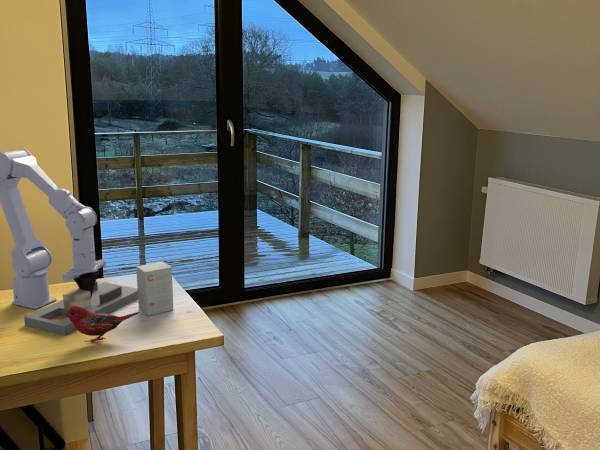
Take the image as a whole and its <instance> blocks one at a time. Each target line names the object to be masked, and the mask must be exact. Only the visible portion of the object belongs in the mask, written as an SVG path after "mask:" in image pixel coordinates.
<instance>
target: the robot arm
mask: <svg viewBox="0 0 600 450" xmlns="http://www.w3.org/2000/svg"><path fill="white" fill-rule="evenodd" d="M22 178H24V179H27V180H29V181H30V183H32V184H33V185H34V186H35V187H37V188H38V189H39V190H40V191H41V192H42V193H44V194H45V195H46V196H48V204H49V205H50V206H51V207H52V208H53V209H54V210H55V211H56V213H59V215H60V216H61V217H62V218H63V219H65V221H64V223H65V226H66V228H67V229H68V231H69V236H70V237H71V245H72V246H71V247H72V258H73V259H72V261H73V267H71V268H70V269H68V270H67V271H65V273H62V281H63V282H68V283H69V282H71V281H72V280H73V281H74V282H75V283H76V285H77V287H78V288H79V289H81V290H86V291H90V293H91V298H92V293H93V288H94V285H95V282H97V279H98V278H99V275H100V274H99V269H101V268H103V269H104V268H107V261H106V260H105V259H99V260H96V252H95V249H96V248H95V237H94V226H95V225H96V224H97V222H98V216H97V214H96V212H95V210H94V209H93V208H92V207H90V206H85V205H84V204H82V203H81V202H79V201H78V200H77V198H75V197H74V196H73V195H72V192H71V191H70V190H69V189H66V188H59V187H58V185H56V184H55V183H54V182H53V181H52V179H51V178H50V177H49V176H48V175H47V174H46V173H45V171H44V170H43V169H42V167H40V165H38V163H37V158H36V157H35V156H34V155H33V154H31V152H30V151H29V150H27V149H25V148H19V149H16V150H9V151H3V152H0V206H1V208H2V210H3V213H4V216H5V219H6V222H7V225H8V227H9V230H10V233H11V235H12V238H13V241H14V246H13V248H12V249H11V252H10V257H11V261H12V262H11V265H12V270H13V271H14V273H15V274H14V276H13V278H12V283H11V284H12V292H13V301H11V304H13V305H15V306H16V305H17V306H21V307H24V308H30V309H35V310H36V309H39V308H41V307H44V306H46V305H49V304H51V303H53V302H56V301H57V300H58V298H57V297H52V296H50V287H49V276H48V271H49V267H50V266H51V265H52V262H53V256H52V253H51V252H50V250H48V248H47V246H46V244H45V242H44V241H42V240H40V239H38V238H37V237H36V234H35V232H34V229H33V227H32V224H31V220H30V218H29V215H28V212H27V210H26V208H25V204H24V201H23V199H22V196H21V193H20V191H19V188H18V184H19V183H20V181H21V179H22Z"/></svg>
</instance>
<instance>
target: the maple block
mask: <svg viewBox="0 0 600 450" xmlns="http://www.w3.org/2000/svg"><path fill="white" fill-rule="evenodd" d="M62 300H63V303H64V308H66V309H70V308H71V307H73V306H78V307H82V308H86V307H88V306H90V305H91V293H90V291H86V290H81V289H77V288H74V289H72V290H69V291H67V292H65V293H62Z"/></svg>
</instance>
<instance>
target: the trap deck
mask: <svg viewBox="0 0 600 450" xmlns="http://www.w3.org/2000/svg"><path fill="white" fill-rule="evenodd" d="M77 289H79V287H78V288H77ZM136 300H138V287H137V288H136V287H131V286H127V285H126V286H125V285H121V284H118V283H117V284H116V283H112V282H106V281H104V282H101V283H99V284H98V281H96V282H95V285H94V288H93V293H92V298H91V305H90V306H88V307H86V308H84V309H86V310H88V311H89V312H94V313H104V314H110V313H113V312H115V311H117V310H119V309H120V308H122V307H125V306H127V305H128V304H130V303H133V302H134V301H136ZM68 311H69V309H66V308H64V303H63V299H62V300H60V301H57V302H55V303H52V304H50V305H47V306H45V307H43V308H41V309H38V310H36V311H33V312H31V313H29V314H26V315H25V316H23V322H24V326H25V327H30V328H34V329H37V330H42V331H46V332H50V333H53V334H56V335H61V336H67V335H69V334H71V333H73V332H76V330H77V329H76V328H75V327H74V325H73V323H72V322H71V321H70V318H69V317H67V316H65V315H66V314H67V313H68ZM64 316H65V317H64ZM77 331H78V330H77Z"/></svg>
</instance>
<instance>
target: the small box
mask: <svg viewBox="0 0 600 450" xmlns="http://www.w3.org/2000/svg"><path fill="white" fill-rule="evenodd" d="M135 268H136V282H137V283H136V284H137V289H138V299H137V300H138V310H139V311H140V312H142V313H143V314H144V315H145V316H146V317H150V316H155V315H158V314H162V313H166V312H170V311H174V293H173V292H174V291H173V290H174V289H173V288H174V287H173V269H172V268H173V267H172V266H171V265H169V264H168V263H165V262H164V261H157V262H154V263H153V262H152V263H146V264H142V265H136V267H135Z"/></svg>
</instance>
